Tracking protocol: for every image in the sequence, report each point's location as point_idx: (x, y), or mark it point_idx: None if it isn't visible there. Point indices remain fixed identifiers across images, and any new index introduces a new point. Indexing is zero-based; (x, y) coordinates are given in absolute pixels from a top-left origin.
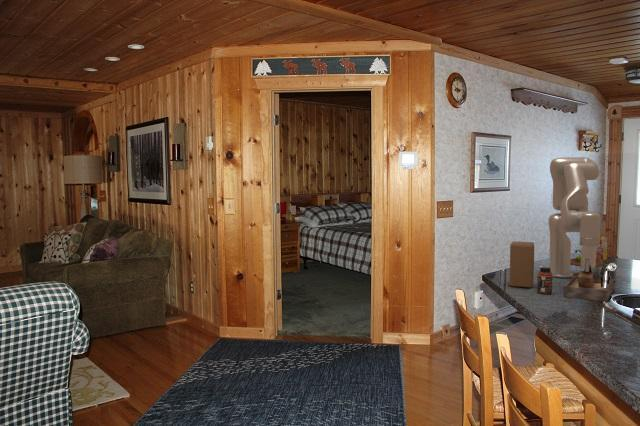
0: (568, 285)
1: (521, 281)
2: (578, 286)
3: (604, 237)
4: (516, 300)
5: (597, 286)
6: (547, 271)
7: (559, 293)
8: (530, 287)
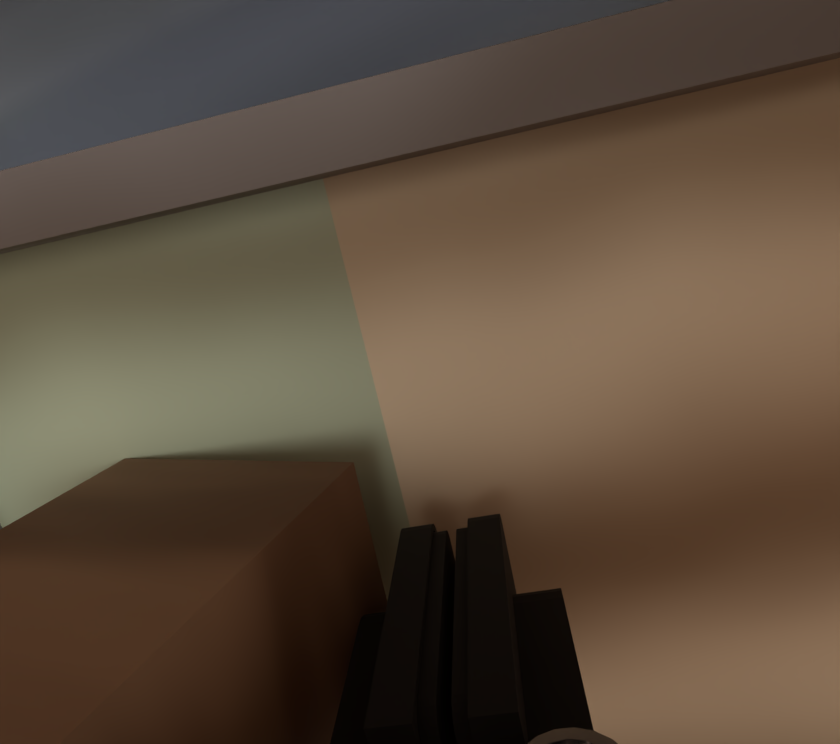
0: (87, 231)
1: None
2: (60, 499)
3: None
4: None
5: (728, 650)
6: None
7: (145, 37)
8: None
